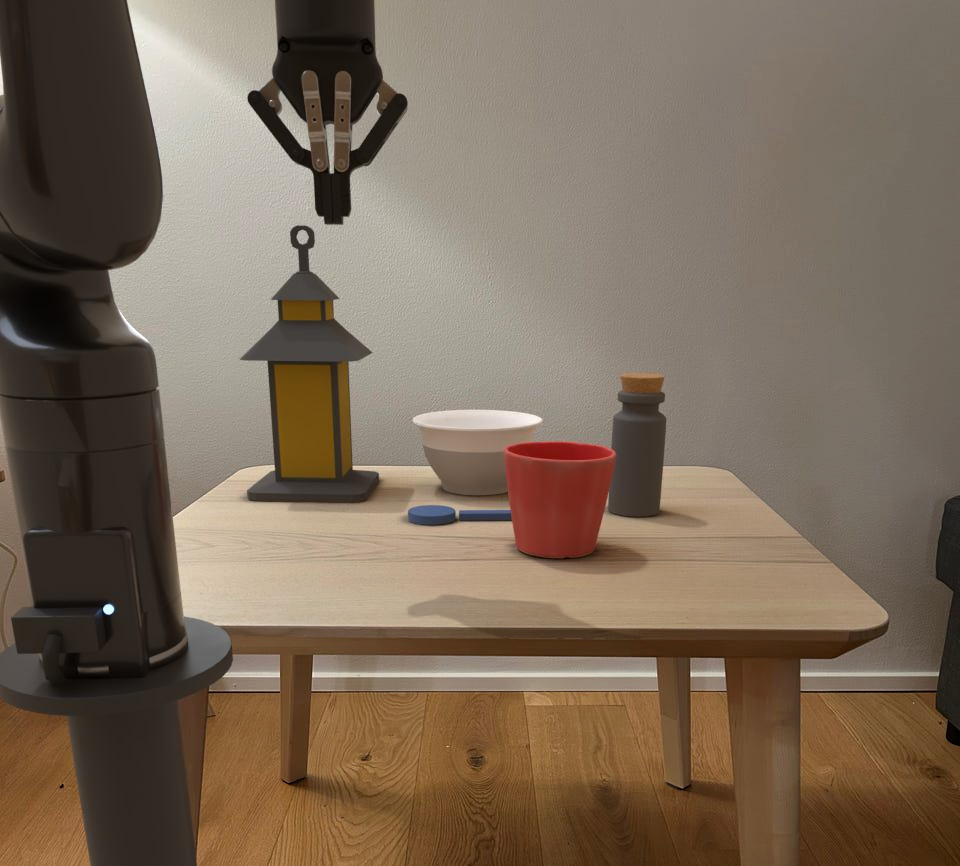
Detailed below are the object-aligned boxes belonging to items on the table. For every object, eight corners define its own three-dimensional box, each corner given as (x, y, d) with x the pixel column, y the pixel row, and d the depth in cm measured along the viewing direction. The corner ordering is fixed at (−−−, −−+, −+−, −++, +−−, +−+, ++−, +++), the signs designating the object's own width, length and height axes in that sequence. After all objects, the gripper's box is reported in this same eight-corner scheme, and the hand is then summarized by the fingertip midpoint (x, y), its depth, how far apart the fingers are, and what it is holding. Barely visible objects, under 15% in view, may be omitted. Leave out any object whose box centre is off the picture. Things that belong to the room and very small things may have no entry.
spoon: (564, 512, 110) (564, 503, 109) (571, 523, 105) (571, 514, 104) (408, 513, 108) (407, 505, 108) (407, 525, 104) (407, 516, 103)
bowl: (467, 508, 111) (467, 432, 108) (388, 485, 123) (386, 416, 119) (567, 490, 120) (570, 420, 117) (485, 470, 132) (486, 406, 129)
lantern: (273, 476, 127) (256, 227, 116) (380, 478, 126) (372, 228, 116) (244, 500, 114) (222, 222, 103) (363, 502, 113) (353, 223, 103)
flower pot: (600, 533, 101) (605, 439, 97) (619, 563, 91) (625, 459, 87) (498, 534, 100) (500, 439, 97) (506, 564, 90) (508, 459, 87)
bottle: (651, 519, 107) (662, 379, 101) (600, 513, 109) (608, 376, 104) (665, 508, 112) (675, 374, 106) (616, 503, 114) (624, 371, 109)
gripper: (225, -43, 69) (245, 221, 76) (411, -38, 70) (415, 223, 76) (242, -15, 76) (259, 225, 83) (411, -10, 77) (415, 227, 83)
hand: (334, 224), depth 79 cm, fingers closed
